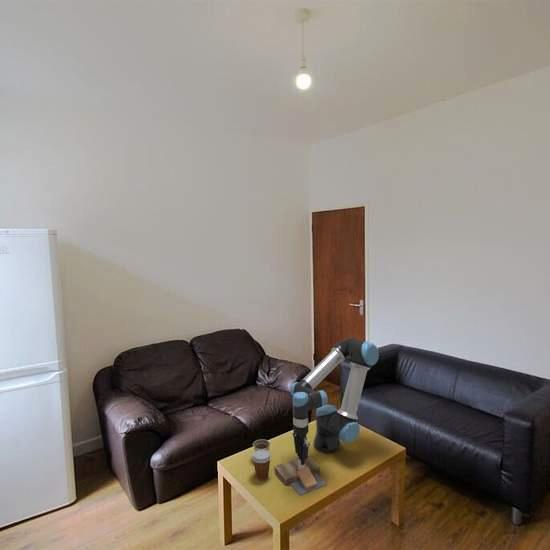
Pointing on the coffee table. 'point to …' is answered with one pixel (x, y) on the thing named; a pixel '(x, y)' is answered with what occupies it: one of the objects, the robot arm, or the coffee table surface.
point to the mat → (301, 489)
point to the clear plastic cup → (261, 444)
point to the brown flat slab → (294, 470)
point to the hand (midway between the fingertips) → (301, 469)
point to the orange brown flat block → (306, 478)
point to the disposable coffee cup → (261, 463)
